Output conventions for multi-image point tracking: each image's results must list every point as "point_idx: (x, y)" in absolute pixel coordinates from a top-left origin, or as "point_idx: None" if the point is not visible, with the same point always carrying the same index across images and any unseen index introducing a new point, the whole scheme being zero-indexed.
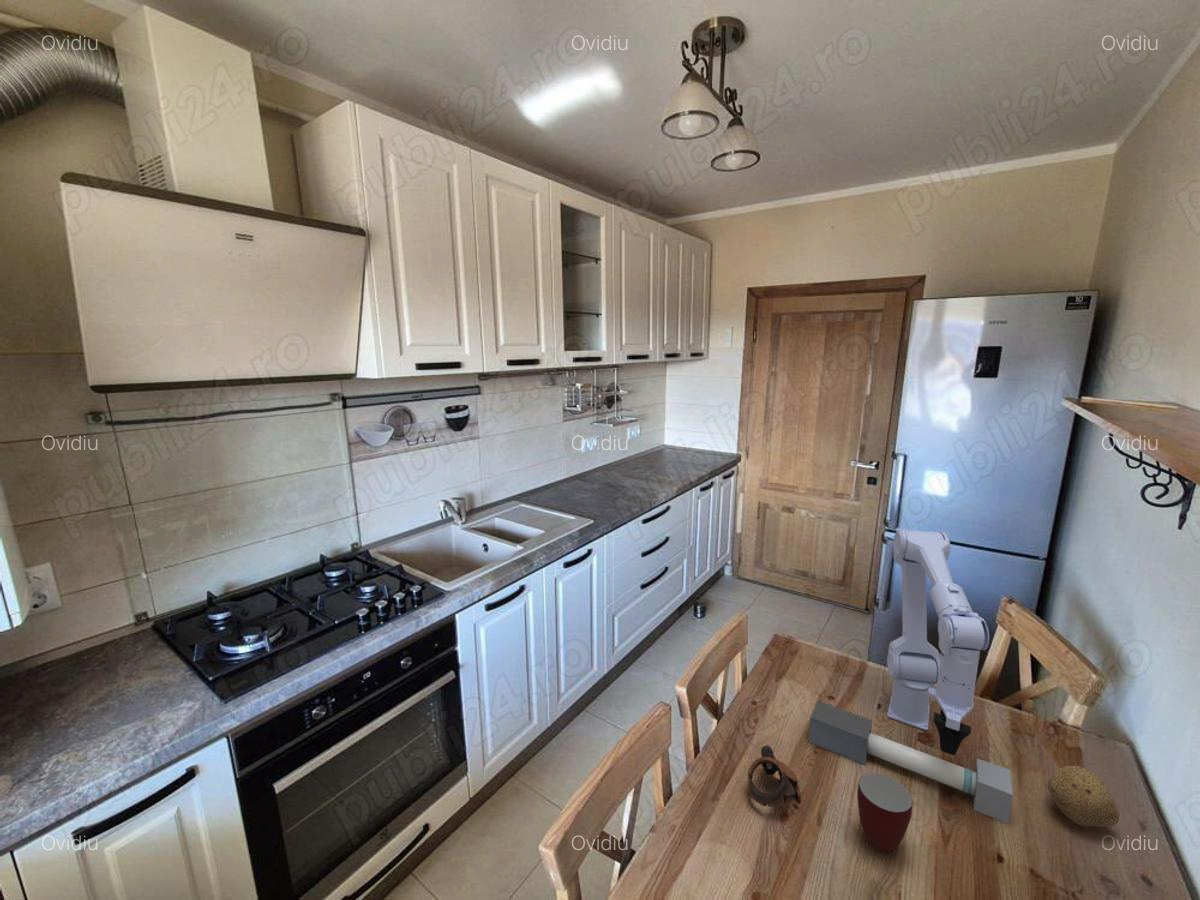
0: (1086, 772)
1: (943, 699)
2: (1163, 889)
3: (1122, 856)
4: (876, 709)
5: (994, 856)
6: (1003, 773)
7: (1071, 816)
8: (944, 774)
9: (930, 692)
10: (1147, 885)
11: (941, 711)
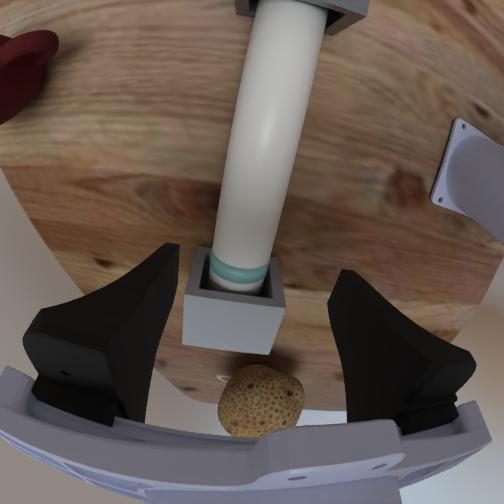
0: None
1: (164, 502)
2: (185, 394)
3: (214, 384)
4: (471, 100)
5: (102, 256)
6: (250, 344)
7: (232, 376)
8: (220, 212)
9: (269, 479)
10: (181, 387)
11: (372, 307)
